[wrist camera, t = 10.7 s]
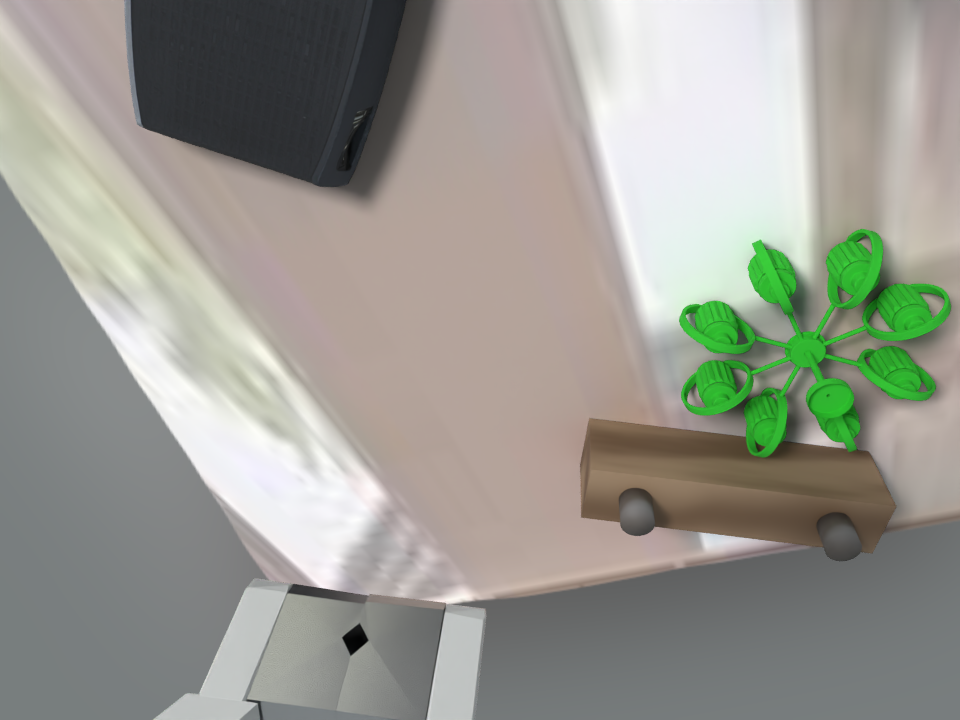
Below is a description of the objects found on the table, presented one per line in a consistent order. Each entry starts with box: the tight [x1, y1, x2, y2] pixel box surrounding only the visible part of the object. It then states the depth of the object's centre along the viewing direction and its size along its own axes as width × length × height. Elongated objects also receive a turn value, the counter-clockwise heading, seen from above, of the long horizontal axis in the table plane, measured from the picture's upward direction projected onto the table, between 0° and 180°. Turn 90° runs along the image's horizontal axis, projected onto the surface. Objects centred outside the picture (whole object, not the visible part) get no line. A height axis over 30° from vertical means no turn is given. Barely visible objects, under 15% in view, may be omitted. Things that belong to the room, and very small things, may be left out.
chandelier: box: [679, 229, 951, 458], centre depth 43 cm, size 15×15×7 cm
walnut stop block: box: [580, 418, 896, 561], centre depth 48 cm, size 4×18×7 cm, turn 86°
